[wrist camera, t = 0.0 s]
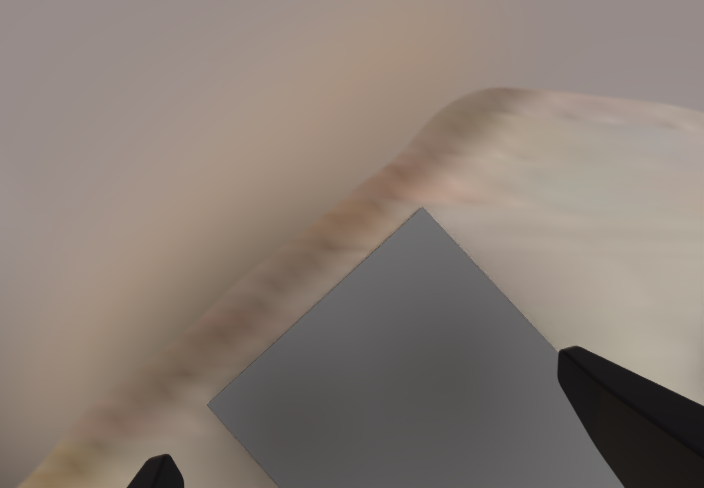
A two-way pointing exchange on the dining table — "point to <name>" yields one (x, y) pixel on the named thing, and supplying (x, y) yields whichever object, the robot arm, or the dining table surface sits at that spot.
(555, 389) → the placemat
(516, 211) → the dining table surface
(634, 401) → the robot arm
